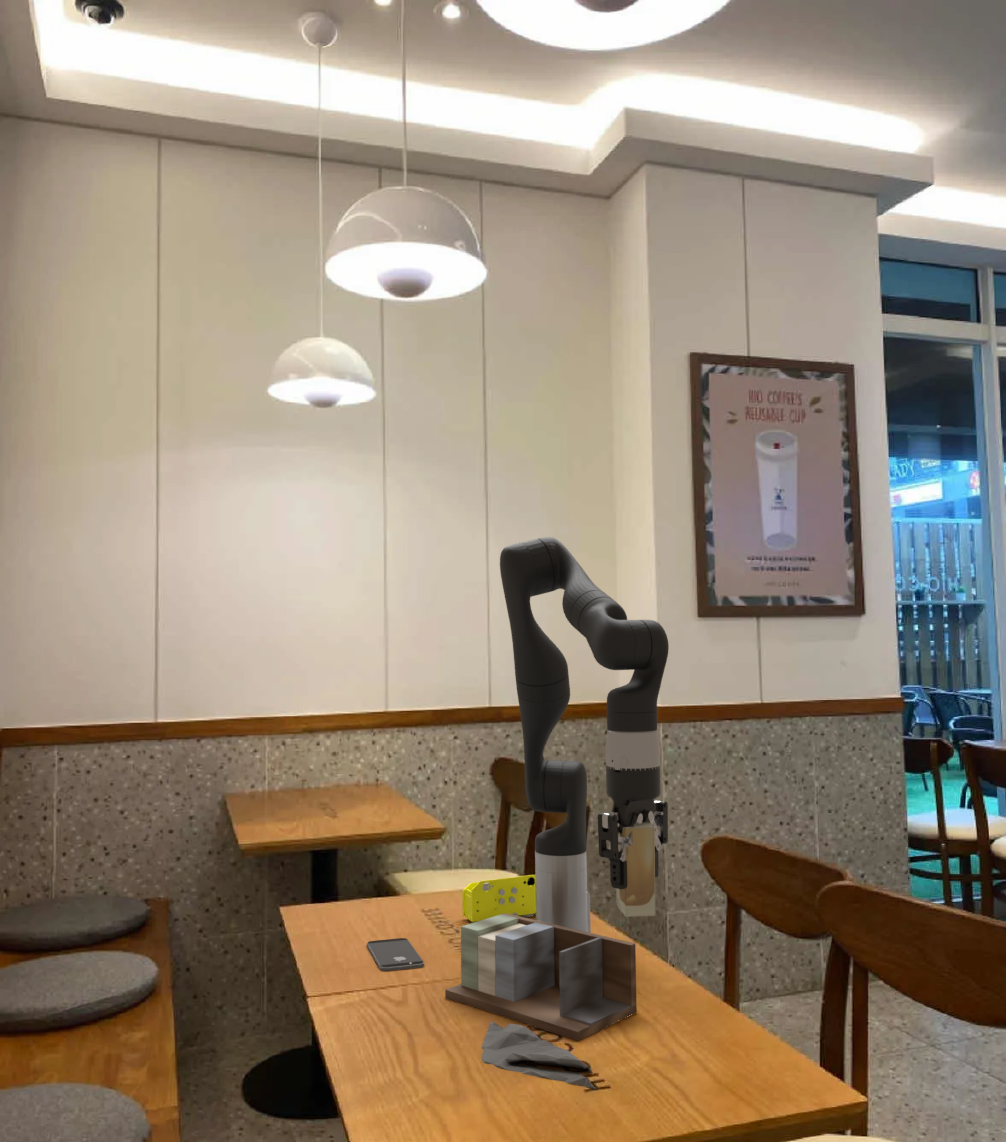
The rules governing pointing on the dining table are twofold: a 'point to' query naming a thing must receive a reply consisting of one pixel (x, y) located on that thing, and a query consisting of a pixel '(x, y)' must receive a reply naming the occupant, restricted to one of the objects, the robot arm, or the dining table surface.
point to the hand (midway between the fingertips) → (635, 882)
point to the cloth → (529, 1054)
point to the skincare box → (639, 873)
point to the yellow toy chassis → (499, 898)
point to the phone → (394, 954)
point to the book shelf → (551, 997)
